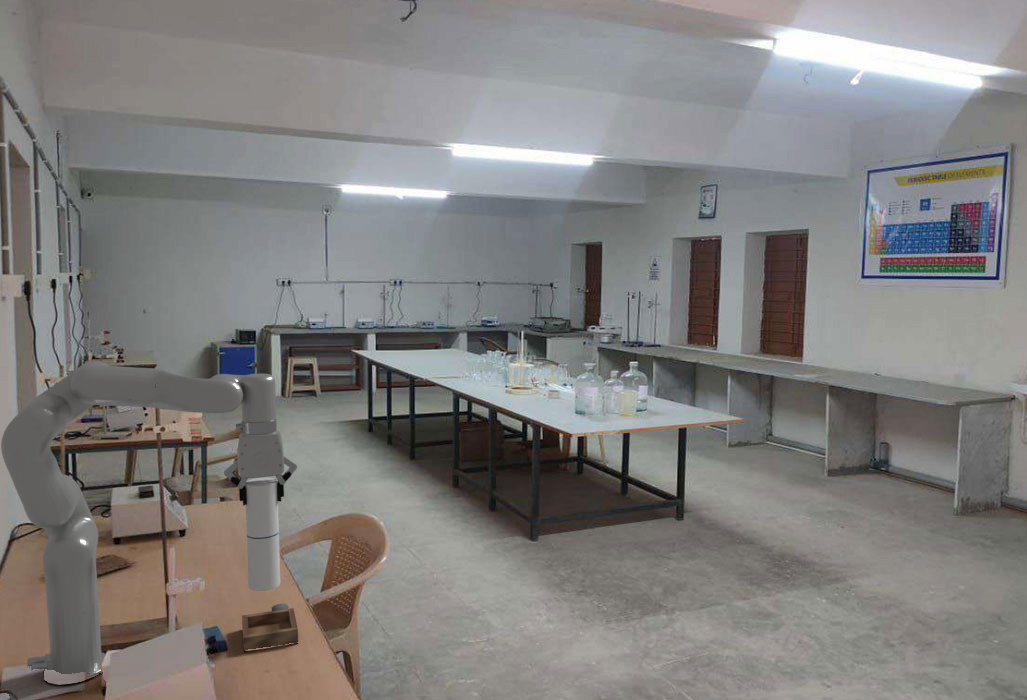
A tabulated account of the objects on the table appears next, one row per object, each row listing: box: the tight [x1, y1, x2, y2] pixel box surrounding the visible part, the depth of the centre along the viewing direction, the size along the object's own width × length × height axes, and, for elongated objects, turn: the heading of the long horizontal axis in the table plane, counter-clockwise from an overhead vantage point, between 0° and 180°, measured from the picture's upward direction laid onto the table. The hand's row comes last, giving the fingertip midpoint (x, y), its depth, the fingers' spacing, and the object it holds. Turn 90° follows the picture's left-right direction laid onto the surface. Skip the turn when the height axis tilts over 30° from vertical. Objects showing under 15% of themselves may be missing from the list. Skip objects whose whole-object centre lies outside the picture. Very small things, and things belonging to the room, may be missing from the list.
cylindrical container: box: [245, 477, 281, 592], centre depth 179 cm, size 7×7×25 cm
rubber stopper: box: [271, 603, 289, 611], centre depth 190 cm, size 4×4×3 cm
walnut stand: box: [241, 607, 299, 651], centre depth 181 cm, size 12×12×4 cm
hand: (262, 501), depth 178 cm, fingers closed on cylindrical container, 7 cm apart
